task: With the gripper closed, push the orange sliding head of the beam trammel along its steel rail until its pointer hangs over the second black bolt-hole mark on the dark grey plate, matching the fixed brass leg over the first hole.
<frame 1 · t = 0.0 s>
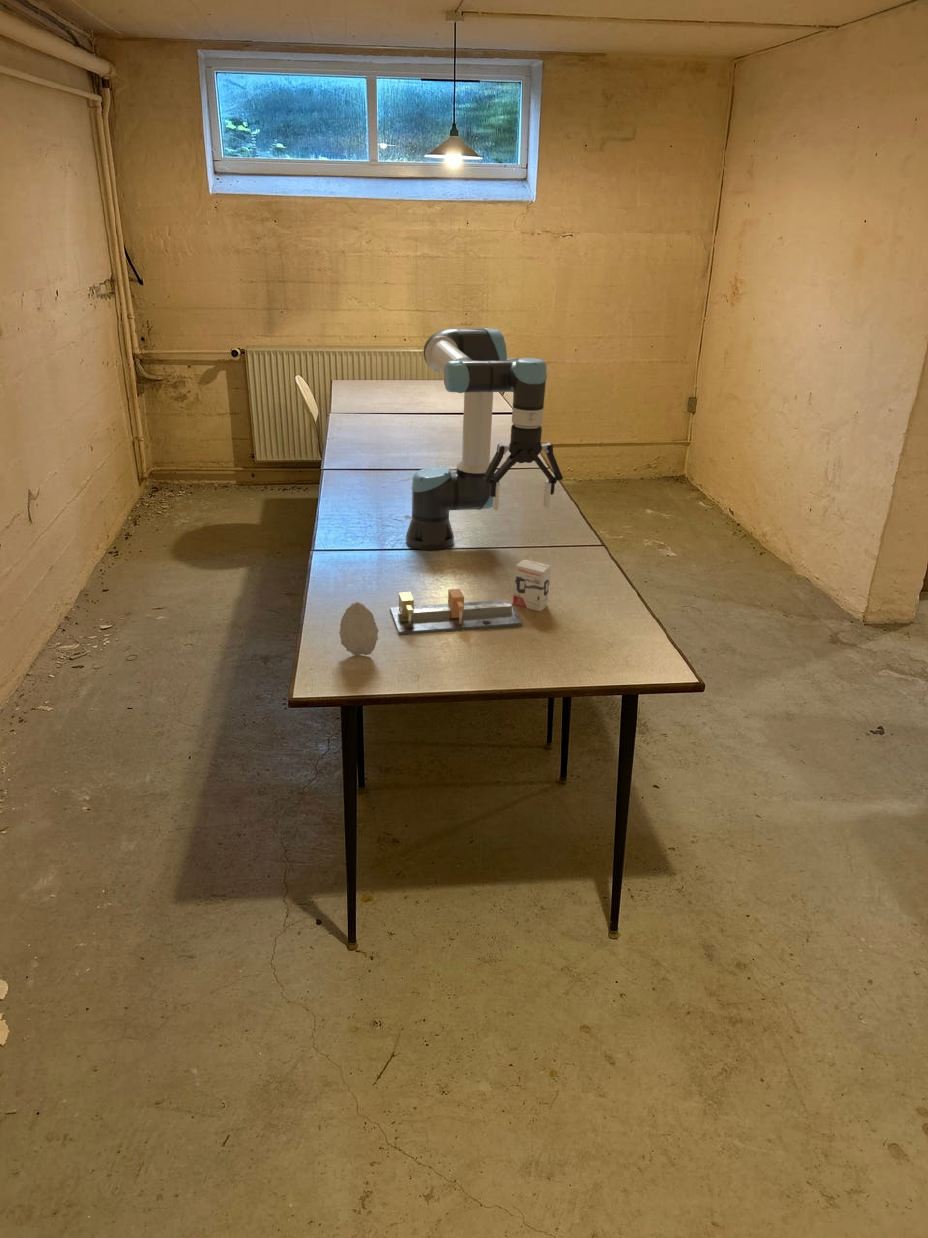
hand: (520, 507, 217), 28 cm above the table, fingers open, 13 cm apart
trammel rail: (457, 607, 218), on the hole plate, point 4 cm above the table
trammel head: (457, 606, 218), point 4 cm above the table, slide at 0.0 cm
hole plate: (455, 618, 221), on the table
stone tool: (359, 657, 202), on the table
ink box: (530, 605, 231), on the table
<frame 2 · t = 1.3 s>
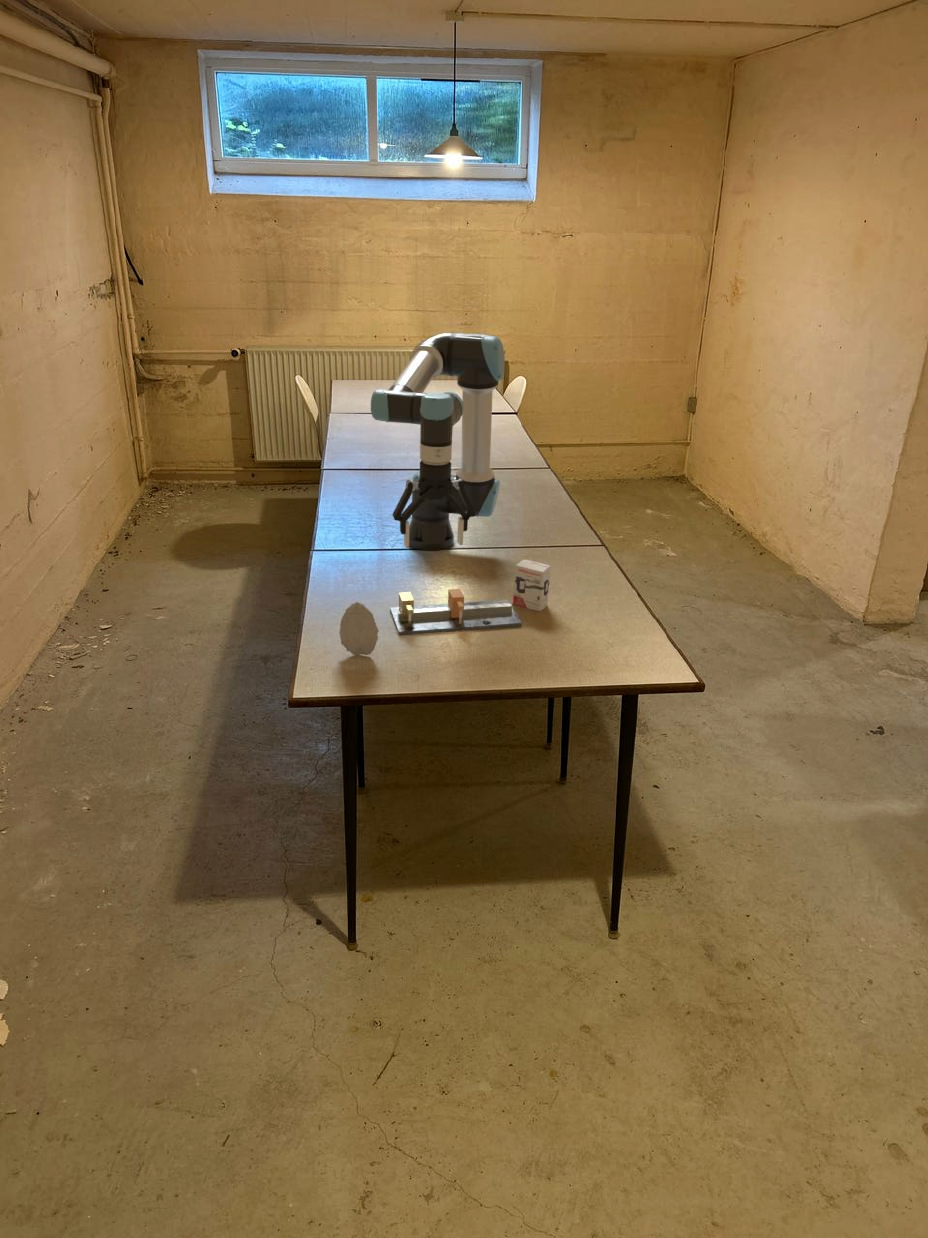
hand: (433, 544, 210), 21 cm above the table, fingers open, 13 cm apart
nothing on the table moved.
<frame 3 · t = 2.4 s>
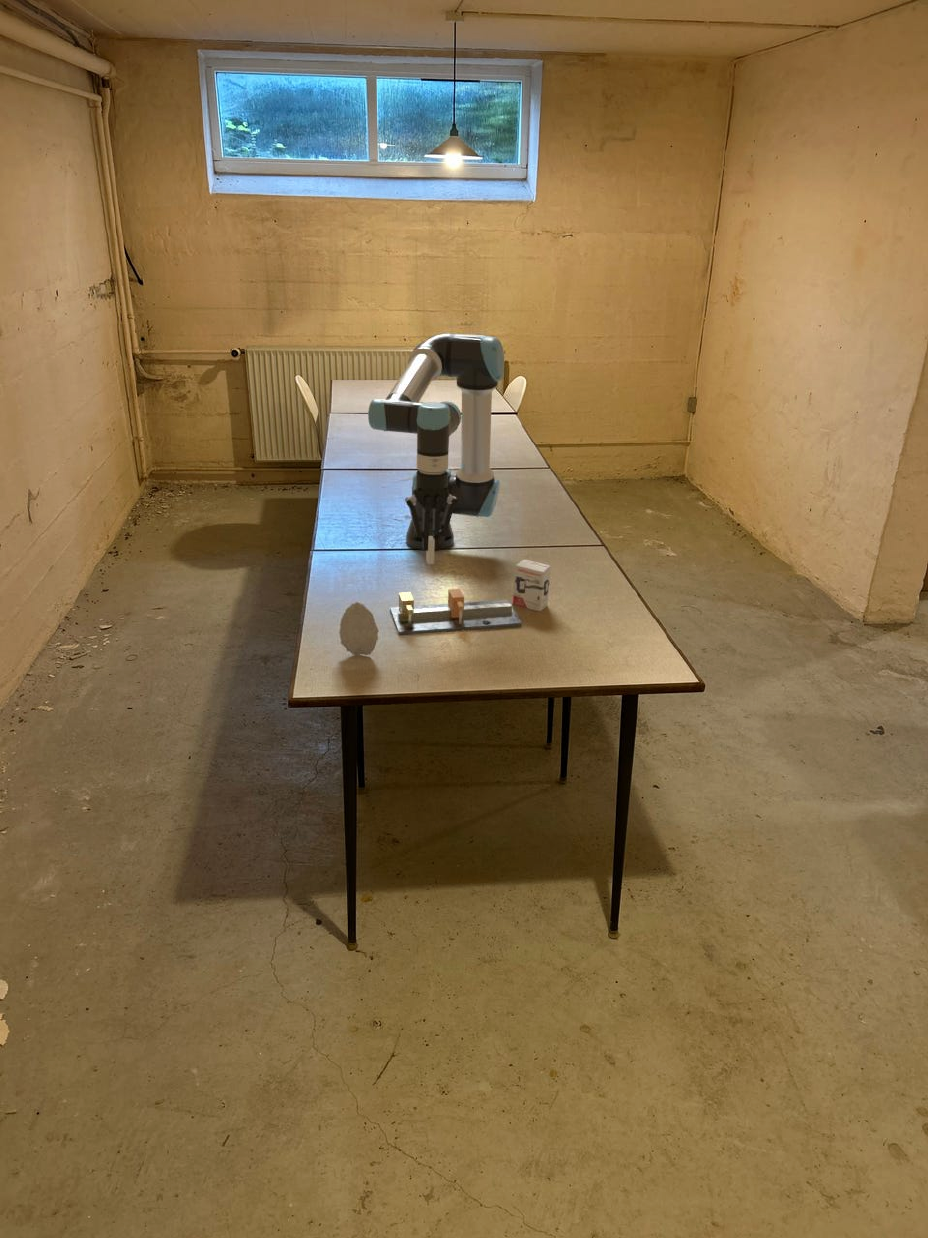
hand: (430, 562, 212), 16 cm above the table, fingers closed
nothing on the table moved.
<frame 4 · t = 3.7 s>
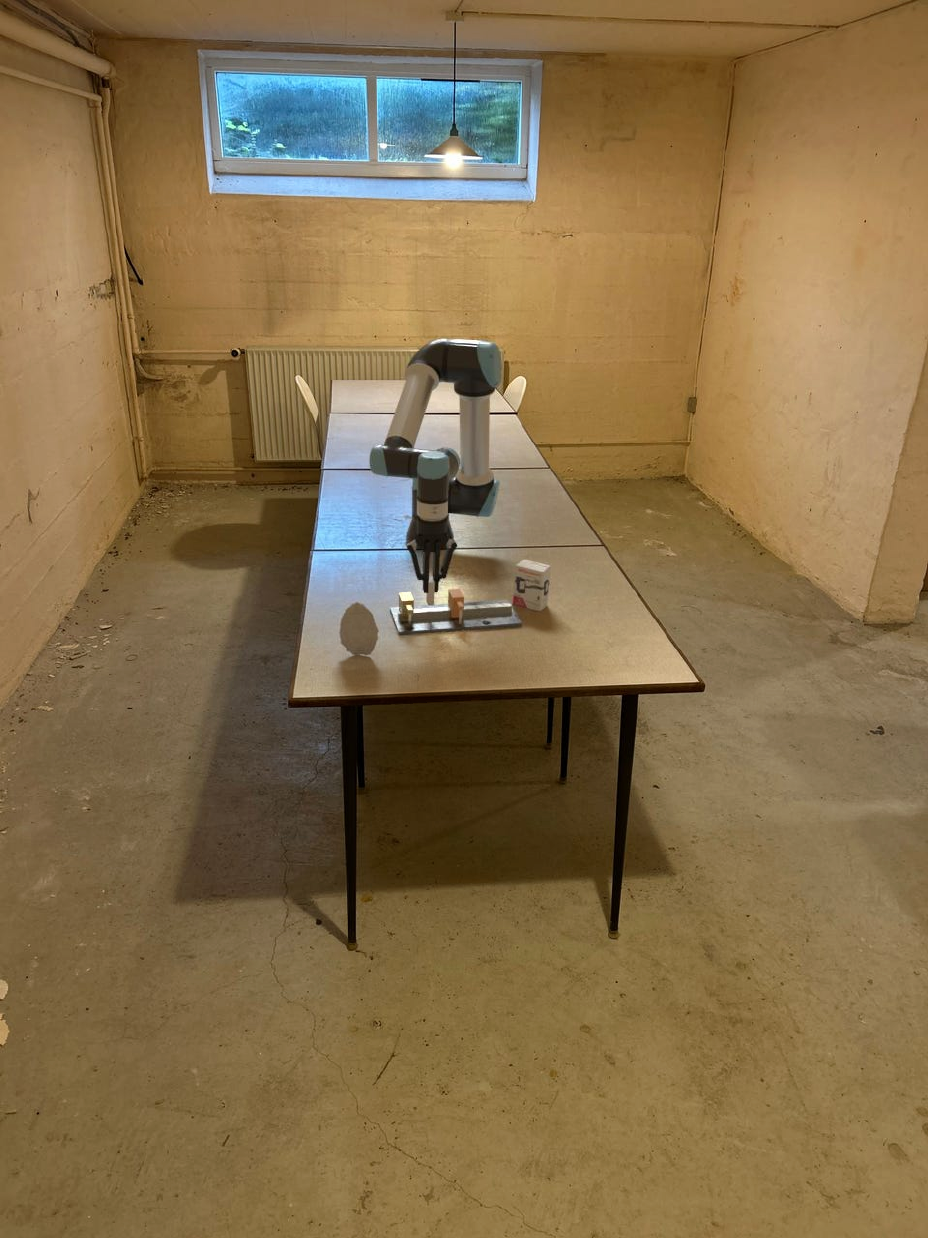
hand: (430, 603, 218), 5 cm above the table, fingers closed
nothing on the table moved.
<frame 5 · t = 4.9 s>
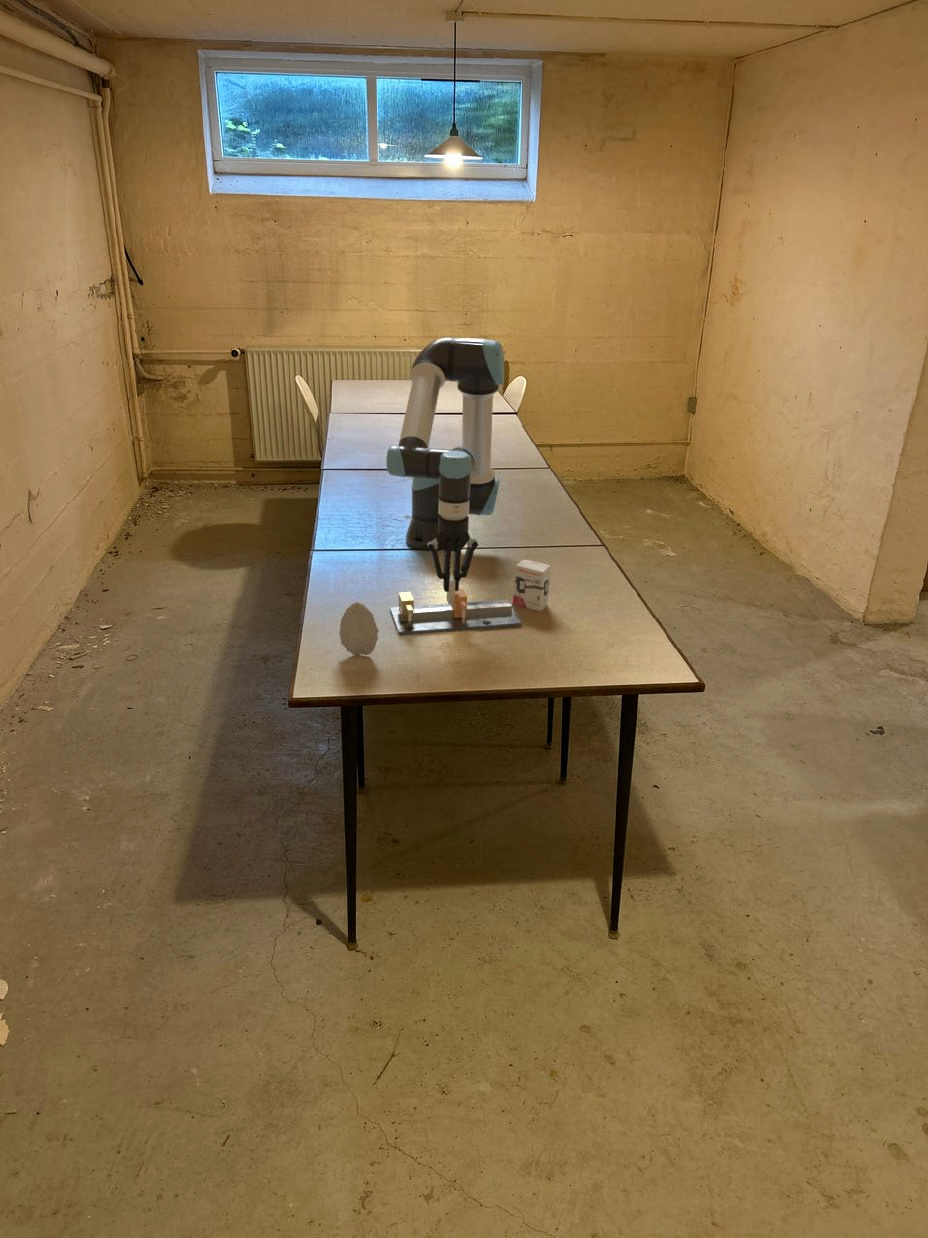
hand: (450, 602, 219), 5 cm above the table, fingers closed
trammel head: (460, 606, 218), point 4 cm above the table, slide at 0.8 cm, touching gripper
everything else where it was.
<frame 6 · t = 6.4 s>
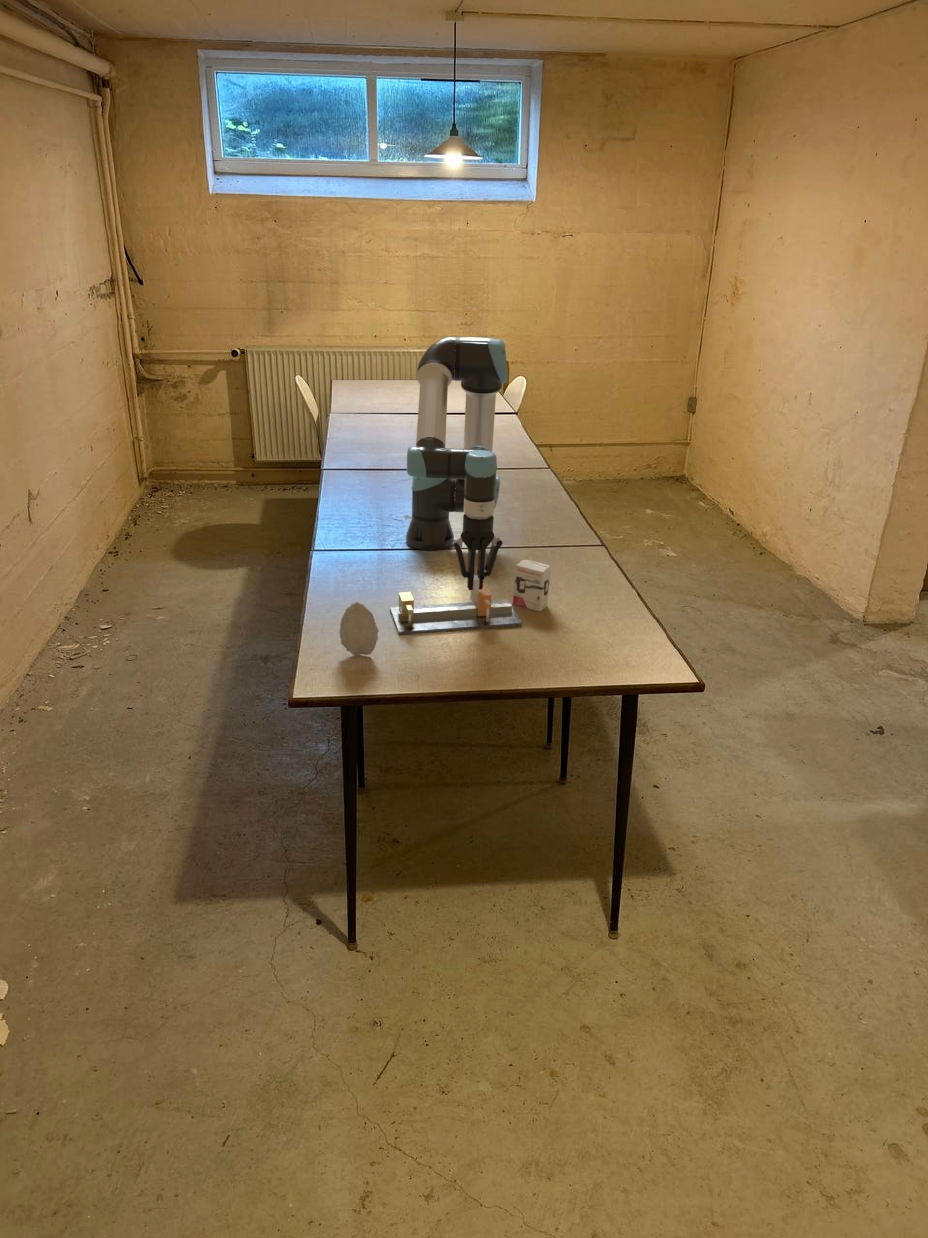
hand: (474, 600, 220), 5 cm above the table, fingers closed
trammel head: (484, 604, 219), point 4 cm above the table, slide at 7.1 cm, touching gripper
everything else where it was.
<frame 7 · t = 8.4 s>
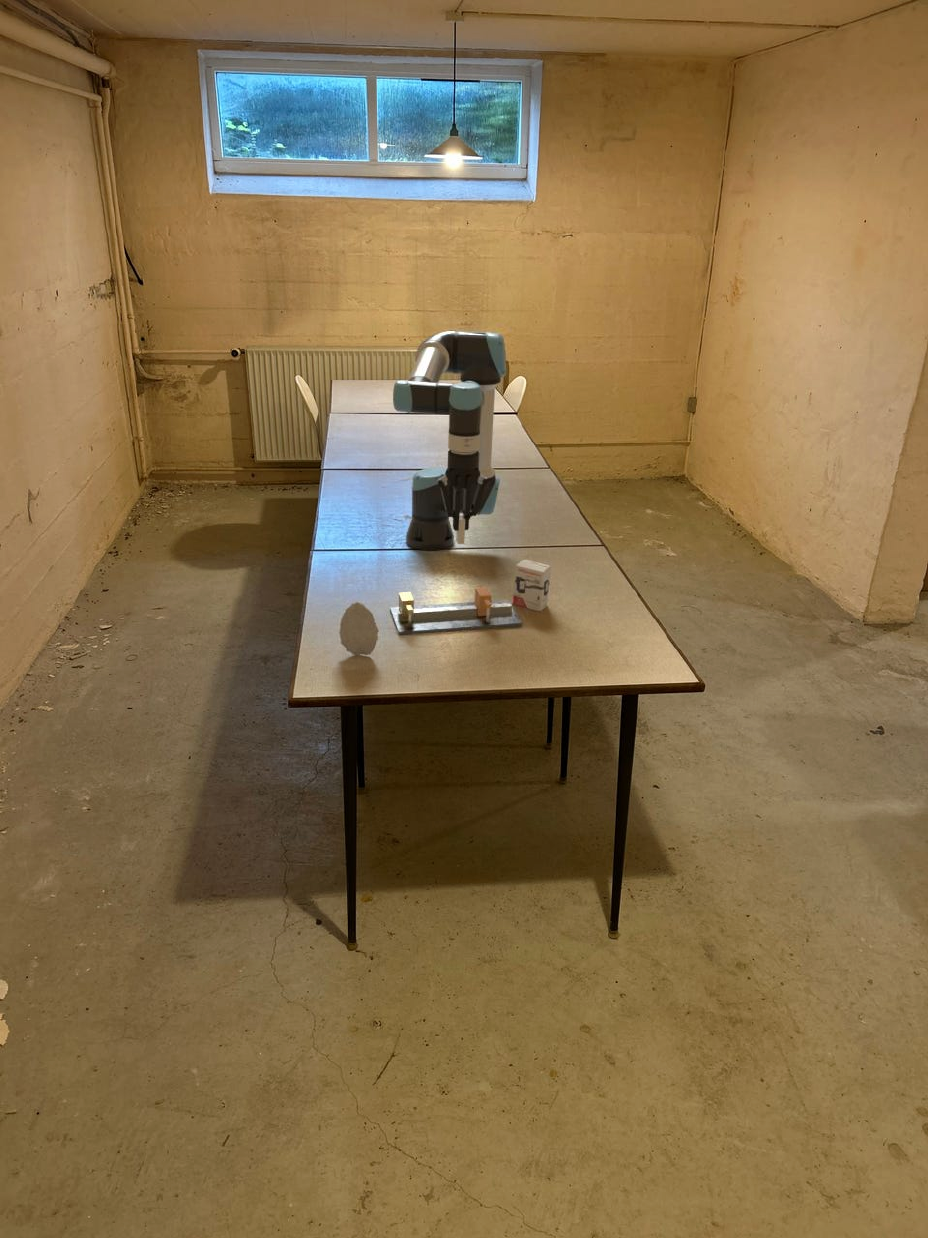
hand: (460, 541, 214), 21 cm above the table, fingers closed
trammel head: (484, 604, 219), point 4 cm above the table, slide at 7.2 cm
everything else where it was.
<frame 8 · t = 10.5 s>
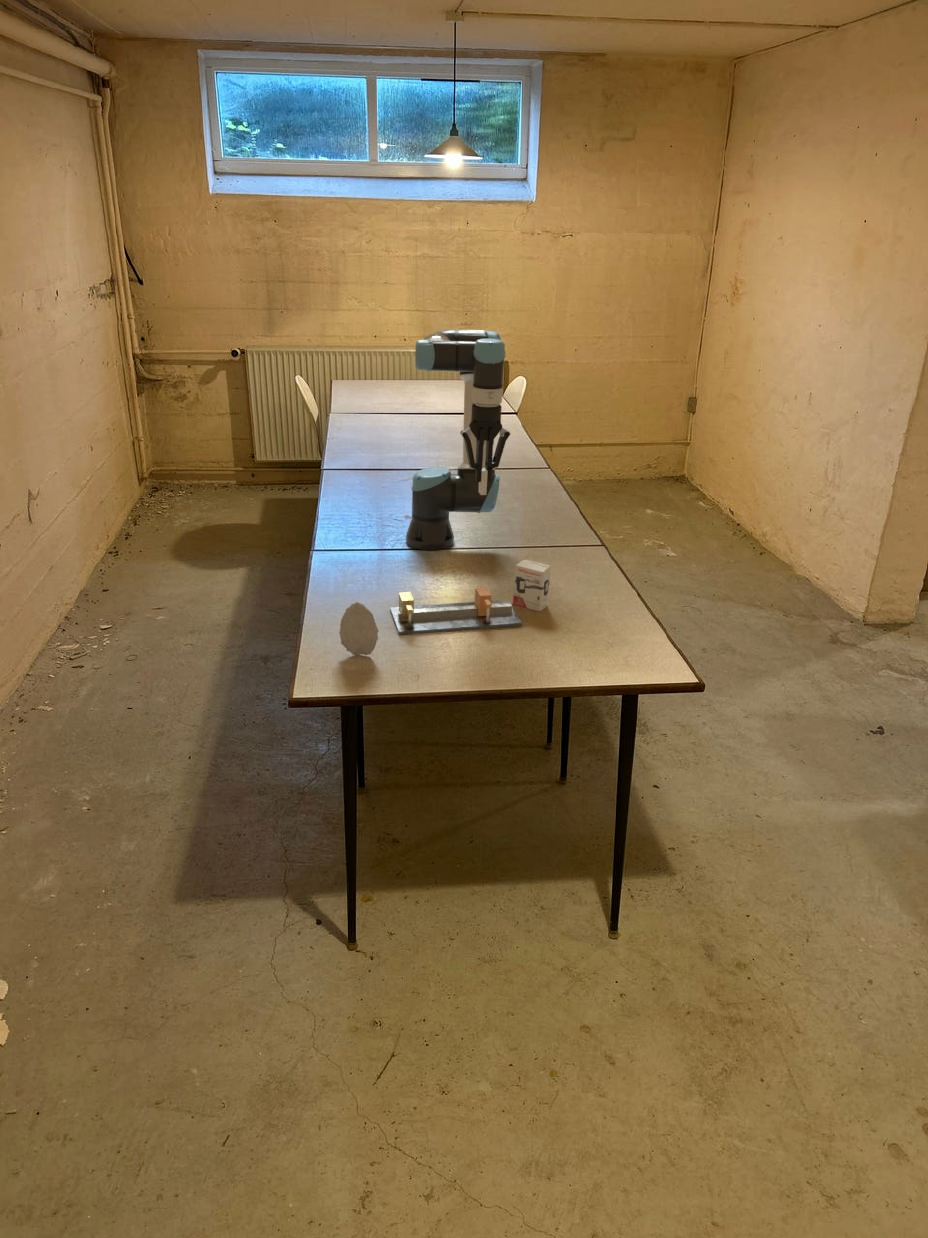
hand: (482, 493, 225), 28 cm above the table, fingers closed
nothing on the table moved.
at the end: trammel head slide at 7.2 cm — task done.
